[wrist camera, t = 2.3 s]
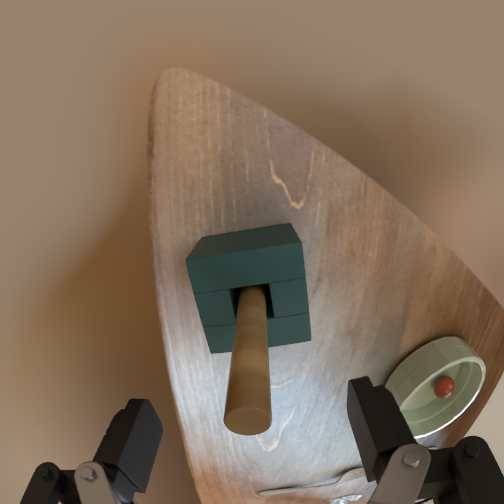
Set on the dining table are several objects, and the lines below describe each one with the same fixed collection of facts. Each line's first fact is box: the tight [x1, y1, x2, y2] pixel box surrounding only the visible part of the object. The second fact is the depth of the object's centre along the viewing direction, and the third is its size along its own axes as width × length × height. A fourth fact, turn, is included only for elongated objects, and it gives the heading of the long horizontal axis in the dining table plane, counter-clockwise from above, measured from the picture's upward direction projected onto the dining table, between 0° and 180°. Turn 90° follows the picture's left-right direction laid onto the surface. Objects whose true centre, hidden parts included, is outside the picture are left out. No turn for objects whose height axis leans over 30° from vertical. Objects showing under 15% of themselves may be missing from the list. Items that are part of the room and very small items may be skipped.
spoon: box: [259, 468, 366, 495], centre depth 35 cm, size 4×21×2 cm, turn 113°
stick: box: [224, 284, 272, 435], centre depth 17 cm, size 2×2×16 cm
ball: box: [433, 376, 455, 399], centre depth 27 cm, size 3×3×3 cm
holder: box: [185, 223, 311, 354], centre depth 22 cm, size 7×7×6 cm
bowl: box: [385, 337, 486, 439], centre depth 26 cm, size 13×13×5 cm
